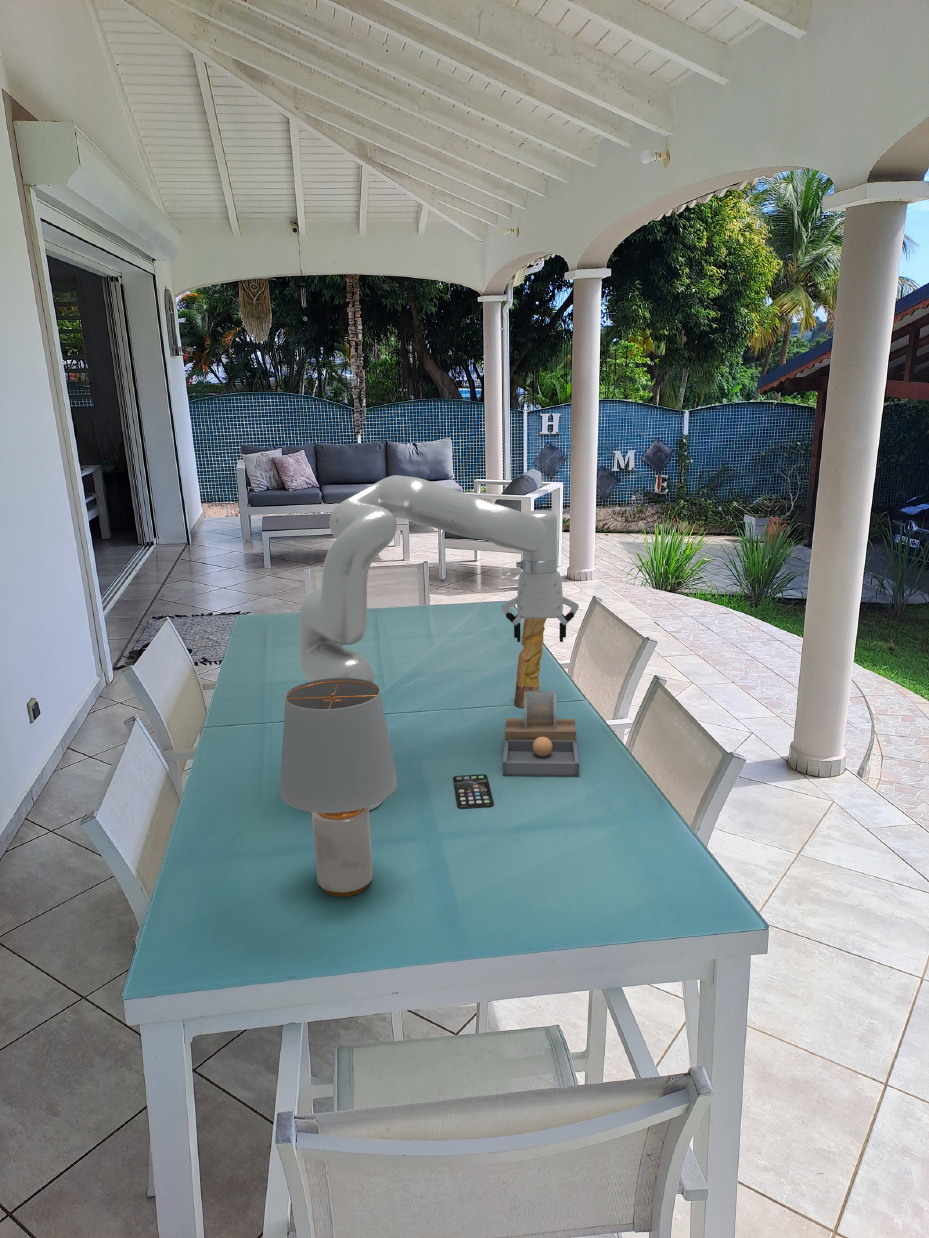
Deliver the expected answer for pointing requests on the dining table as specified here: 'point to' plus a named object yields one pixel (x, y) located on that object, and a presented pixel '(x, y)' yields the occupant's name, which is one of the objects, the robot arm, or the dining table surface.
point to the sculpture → (529, 658)
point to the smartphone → (472, 791)
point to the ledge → (540, 729)
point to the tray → (540, 759)
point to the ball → (542, 746)
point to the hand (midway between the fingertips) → (540, 640)
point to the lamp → (337, 773)
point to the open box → (539, 706)
